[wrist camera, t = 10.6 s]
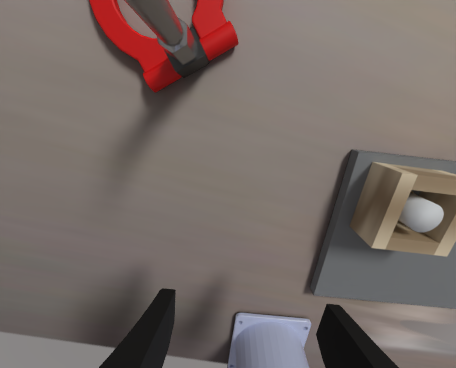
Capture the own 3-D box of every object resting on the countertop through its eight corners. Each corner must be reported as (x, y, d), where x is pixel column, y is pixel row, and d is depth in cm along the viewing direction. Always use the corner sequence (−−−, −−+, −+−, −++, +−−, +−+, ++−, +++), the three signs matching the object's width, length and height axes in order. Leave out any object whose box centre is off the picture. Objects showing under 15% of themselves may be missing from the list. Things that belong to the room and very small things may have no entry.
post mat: (463, 301, 22) (511, 341, 18) (310, 287, 22) (326, 324, 18) (545, 171, 17) (632, 188, 14) (351, 149, 17) (386, 161, 13)
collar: (413, 233, 18) (447, 256, 15) (349, 226, 18) (371, 247, 15) (443, 170, 16) (487, 183, 14) (372, 161, 16) (402, 173, 13)
